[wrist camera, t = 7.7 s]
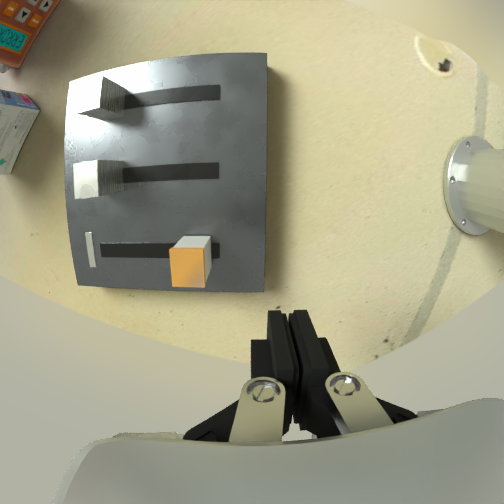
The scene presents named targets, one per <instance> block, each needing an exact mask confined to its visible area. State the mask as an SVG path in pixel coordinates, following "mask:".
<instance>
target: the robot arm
mask: <svg viewBox="0 0 504 504" xmlns="http://www.w3.org/2000/svg"><path fill="white" fill-rule="evenodd" d="M443 183H444V196H445V202H446V205H447V209H448V212H449V214H450V216H451V218H452V220H453V222H454V223H455V225H456V226H457V227H458V228H459V229H460V230H462V231H464V232H465V233H468V234H471V235H481V234H484V233H485V232H487V231H489V230H490V229H493V230H496V231H498V232H501V233H504V149H494V148H493V147H492V146H491V145H490V144H489V143H488V142H487V141H486V140H484V139H483V138H481V137H477V136H468V137H464V138H462V139H460V140H459V141H457V142H456V143H455V145H454V146H453V147H452V149H451V151H450V152H449V155H448V158H447V160H446V165H445V170H444V180H443ZM292 415H293V419H294V423H296V424H297V423H299V426H300V430H307V431H309V432H311V433H312V439H308V440H297V441H283V442H282V436H283V435H284V434H286V433H287V432H288V431H289V426H290V424H291V421H292ZM52 504H504V400H502V399H497V398H485V399H484V398H483V399H477V400H472V401H469V402H465V403H461V404H458V405H455V406H453V407H449V408H446V409H440V410H431V411H421V412H418V413H417V414H416V415H415V414H414V413H413V412H411V411H409V410H407V409H404V408H402V407H399V406H396V405H393V404H391V403H389V402H386V401H384V400H381V399H379V398H376V397H374V395H373V394H372V392H371V391H370V390H369V389H368V387H367V385H366V384H365V383H364V381H363V380H362V379H361V378H360V377H359V376H357V375H355V374H352V373H349V372H341V371H340V369H339V367H338V364H337V362H336V359H335V357H334V355H333V352H332V350H331V348H330V345H329V343H328V341H327V339H326V338H325V337H323V338H318V337H317V334H316V332H315V329H314V327H313V324H312V322H311V319H310V317H309V314H308V312H307V310H294V312H293V313H289V319H288V320H287V316H286V314H282V313H281V310H271V311H268V322H267V340H251V380H249V381H247V382H246V383H245V384H244V386H243V388H242V391H241V395H240V399H239V400H237V401H236V402H234V403H233V404H231V405H230V406H228V407H226V408H225V409H223V410H222V411H220V412H218V413H217V414H215V415H214V416H212V417H210V418H209V419H207V420H205V421H203V422H202V423H200V424H198V425H197V426H195V427H193V428H191V429H190V430H189V431H187V432H186V434H177V433H176V432H159V433H119V434H117V435H115V436H113V437H112V438H106V439H101V440H97V441H94V442H92V443H89V444H88V445H86V446H85V447H83V448H82V449H81V450H80V451H79V453H78V454H77V455H76V456H75V458H74V459H73V460H72V462H71V464H70V465H69V467H68V469H67V470H66V472H65V474H64V476H63V478H62V480H61V483H60V484H59V487H58V489H57V491H56V493H55V496H54V498H53V501H52Z"/></svg>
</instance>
